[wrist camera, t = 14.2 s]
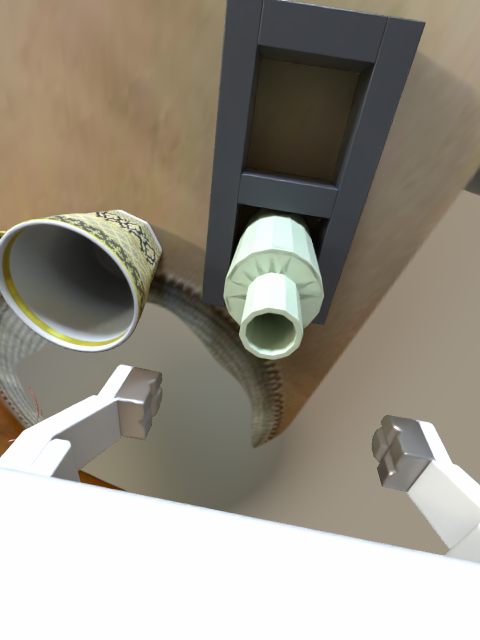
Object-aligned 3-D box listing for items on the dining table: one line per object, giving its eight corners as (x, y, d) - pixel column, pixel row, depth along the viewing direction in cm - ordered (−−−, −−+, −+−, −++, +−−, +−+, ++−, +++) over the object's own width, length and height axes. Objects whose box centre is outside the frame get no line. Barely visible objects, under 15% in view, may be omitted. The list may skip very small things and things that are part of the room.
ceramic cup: (193, 221, 28) (155, 263, 19) (162, 308, 33) (121, 371, 25) (49, 152, 26) (-62, 166, 18) (40, 255, 31) (-49, 303, 23)
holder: (402, 38, 20) (426, 21, 17) (319, 302, 31) (323, 325, 27) (236, 13, 20) (227, -10, 17) (210, 283, 31) (201, 303, 27)
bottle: (316, 211, 26) (349, 292, 14) (300, 274, 29) (314, 388, 17) (248, 199, 26) (217, 269, 14) (239, 264, 29) (206, 369, 17)
